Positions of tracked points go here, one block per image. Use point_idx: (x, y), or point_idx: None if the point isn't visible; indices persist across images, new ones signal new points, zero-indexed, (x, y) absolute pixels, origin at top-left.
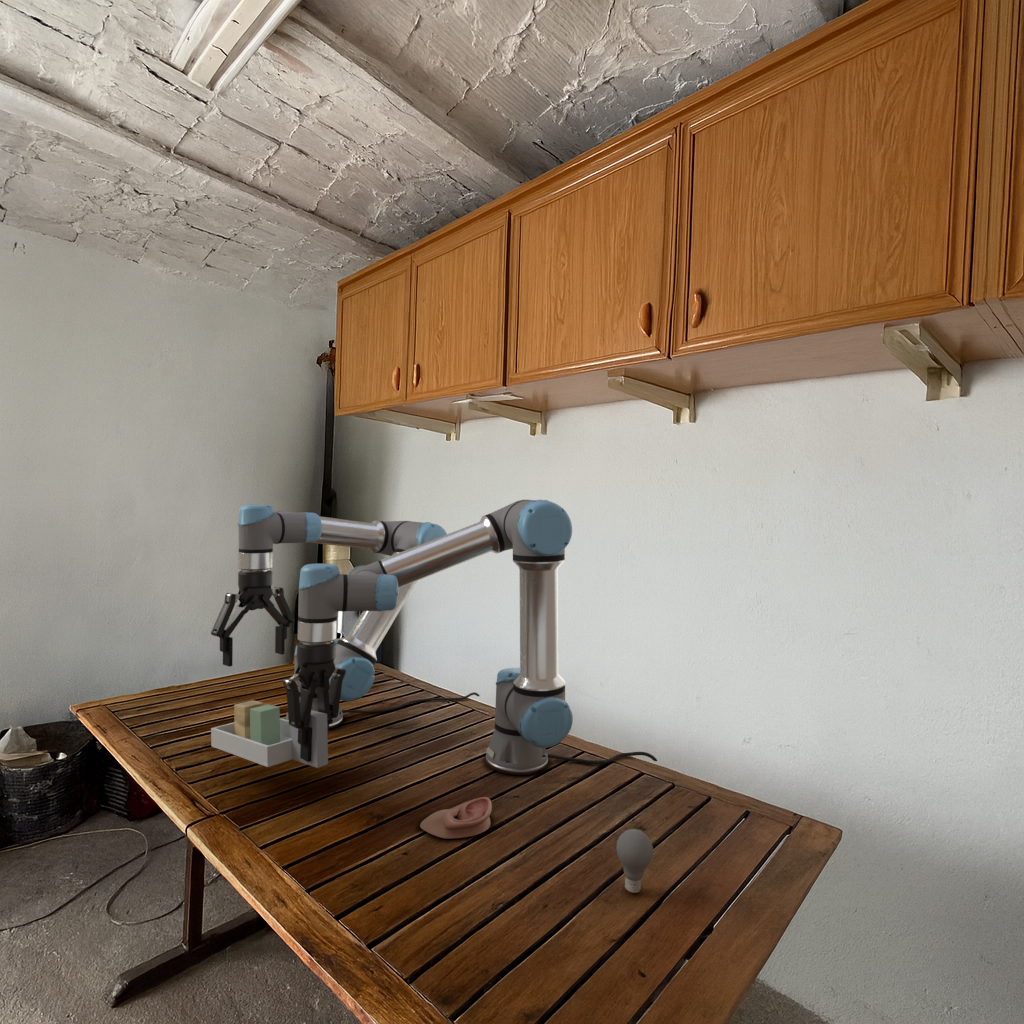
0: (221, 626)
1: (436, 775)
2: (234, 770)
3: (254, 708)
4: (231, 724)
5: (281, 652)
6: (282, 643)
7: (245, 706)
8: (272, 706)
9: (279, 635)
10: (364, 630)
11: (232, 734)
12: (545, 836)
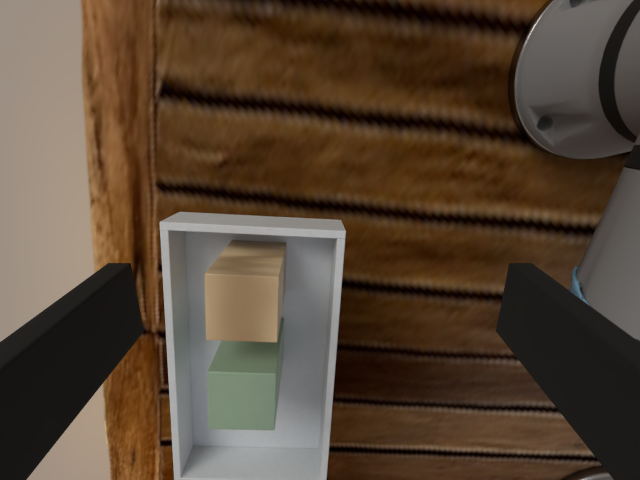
0: None
1: (479, 455)
2: (258, 198)
3: (218, 381)
4: (222, 232)
5: (503, 336)
6: (544, 383)
7: (214, 333)
8: (265, 408)
9: (593, 405)
10: None
11: (170, 335)
12: None
